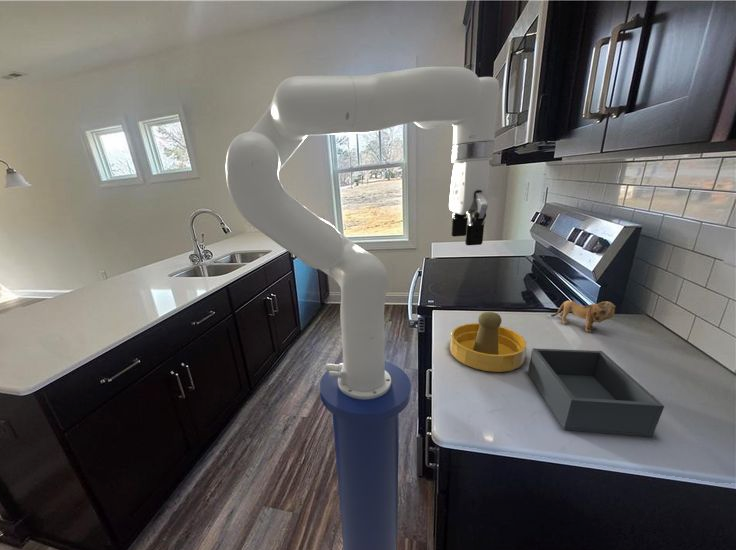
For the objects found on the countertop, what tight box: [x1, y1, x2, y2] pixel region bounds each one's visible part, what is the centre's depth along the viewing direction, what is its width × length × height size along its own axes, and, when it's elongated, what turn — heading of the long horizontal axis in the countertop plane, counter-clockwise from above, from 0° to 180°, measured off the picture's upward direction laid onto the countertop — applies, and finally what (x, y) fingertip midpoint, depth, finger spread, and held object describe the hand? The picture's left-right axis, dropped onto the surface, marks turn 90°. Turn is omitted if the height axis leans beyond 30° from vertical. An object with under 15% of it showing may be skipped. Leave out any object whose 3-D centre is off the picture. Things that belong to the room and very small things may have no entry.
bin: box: [527, 347, 665, 438], centre depth 62 cm, size 14×18×7 cm
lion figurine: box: [550, 300, 616, 333], centre depth 91 cm, size 15×5×9 cm, turn 35°
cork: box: [473, 311, 502, 355], centre depth 80 cm, size 6×6×11 cm
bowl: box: [449, 322, 528, 373], centre depth 81 cm, size 17×17×4 cm
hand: (465, 240), depth 69 cm, fingers open, 9 cm apart
